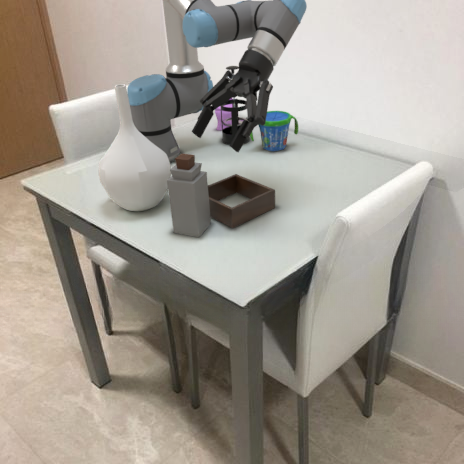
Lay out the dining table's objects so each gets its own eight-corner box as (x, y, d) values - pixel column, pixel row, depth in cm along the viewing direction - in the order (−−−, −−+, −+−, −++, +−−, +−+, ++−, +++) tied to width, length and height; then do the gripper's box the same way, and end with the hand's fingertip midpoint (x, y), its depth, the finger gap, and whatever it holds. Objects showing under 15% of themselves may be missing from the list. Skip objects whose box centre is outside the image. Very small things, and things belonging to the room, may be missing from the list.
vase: (183, 190, 140) (170, 75, 122) (161, 221, 126) (142, 97, 108) (122, 186, 143) (100, 75, 125) (94, 217, 129) (65, 96, 111)
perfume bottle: (173, 232, 121) (164, 160, 110) (186, 219, 126) (178, 149, 115) (199, 237, 119) (191, 164, 108) (210, 223, 124) (205, 152, 113)
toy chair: (213, 130, 178) (210, 85, 169) (220, 122, 185) (217, 78, 175) (235, 131, 176) (233, 86, 167) (242, 123, 183) (240, 79, 173)
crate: (195, 209, 130) (193, 191, 127) (236, 191, 138) (235, 173, 135) (232, 228, 121) (231, 209, 118) (275, 207, 129) (275, 189, 126)
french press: (249, 145, 164) (247, 70, 150) (221, 146, 165) (216, 71, 151) (250, 133, 174) (248, 61, 160) (222, 134, 174) (218, 62, 160)
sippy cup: (253, 156, 157) (252, 123, 151) (247, 144, 165) (246, 113, 159) (302, 151, 158) (303, 118, 152) (293, 139, 167) (294, 108, 160)
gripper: (309, 77, 109) (260, 163, 111) (233, 61, 125) (191, 137, 126) (293, 55, 103) (242, 147, 105) (215, 41, 119) (171, 121, 120)
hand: (214, 141), depth 115 cm, fingers open, 13 cm apart
